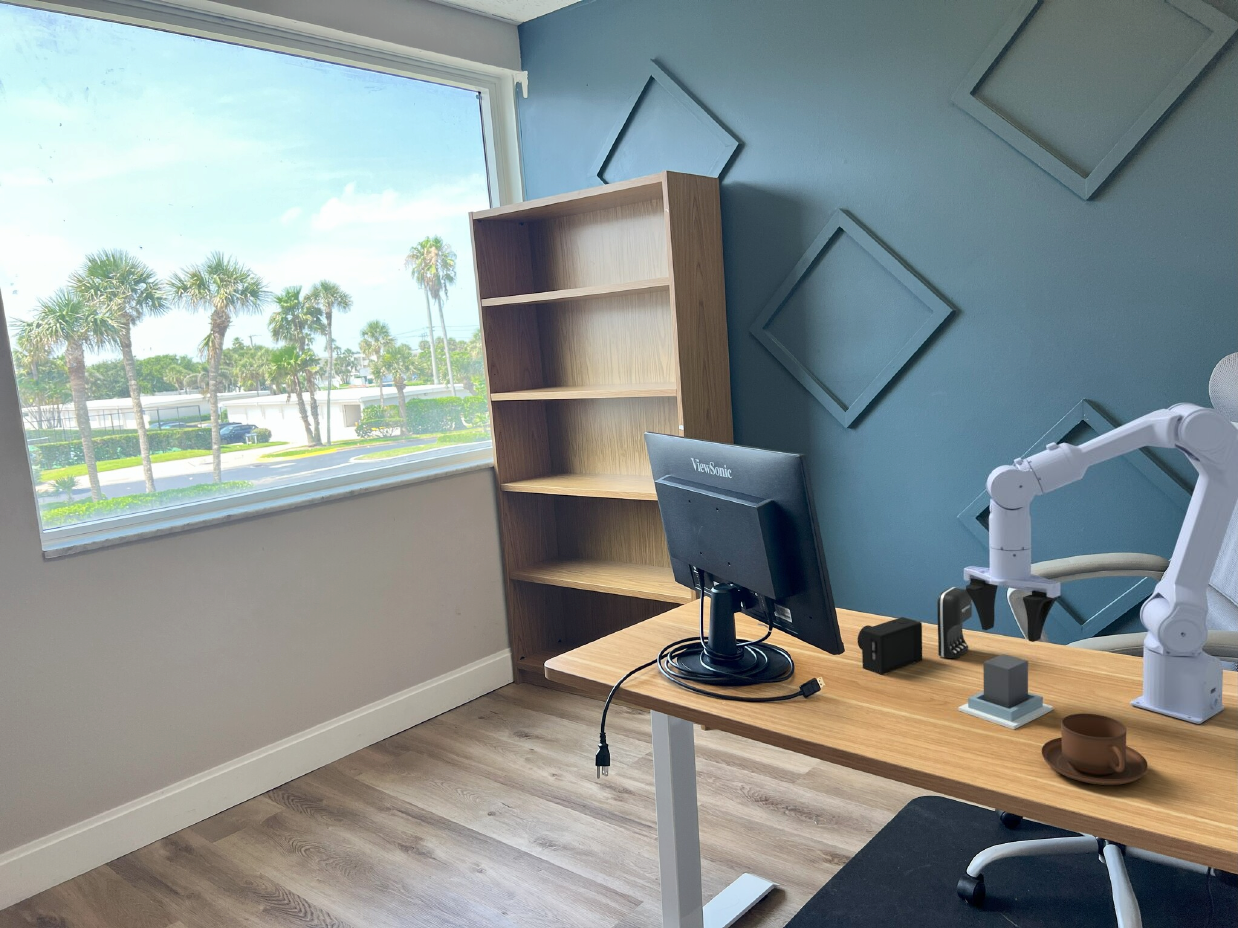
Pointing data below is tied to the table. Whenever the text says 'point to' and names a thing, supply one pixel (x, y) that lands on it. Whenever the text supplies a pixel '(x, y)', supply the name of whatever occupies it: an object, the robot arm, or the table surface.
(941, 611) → the battery charger
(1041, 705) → the socket dock
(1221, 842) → the table surface
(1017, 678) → the plug
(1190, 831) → the table surface
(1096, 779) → the cup and saucer
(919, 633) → the digital camera
